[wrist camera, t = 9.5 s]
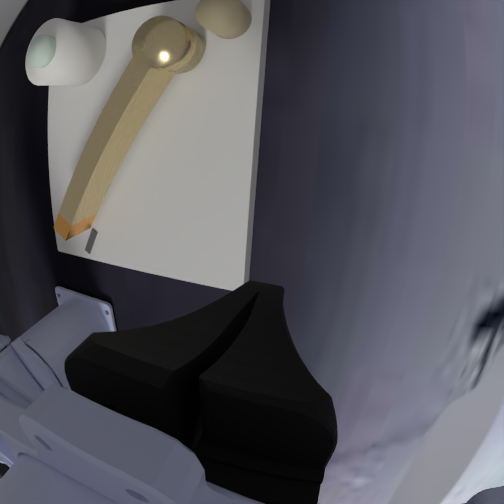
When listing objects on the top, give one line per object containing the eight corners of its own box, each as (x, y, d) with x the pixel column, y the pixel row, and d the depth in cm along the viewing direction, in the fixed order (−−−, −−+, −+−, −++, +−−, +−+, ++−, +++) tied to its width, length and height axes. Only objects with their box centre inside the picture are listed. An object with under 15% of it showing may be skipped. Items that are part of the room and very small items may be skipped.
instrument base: (248, 282, 24) (220, 332, 18) (68, 245, 27) (21, 272, 22) (270, 1, 16) (243, -41, 10) (66, 34, 20) (12, 28, 14)
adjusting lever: (98, 233, 24) (72, 248, 21) (74, 209, 23) (46, 221, 21) (215, 42, 16) (193, 29, 13) (178, 20, 16) (152, 7, 13)
